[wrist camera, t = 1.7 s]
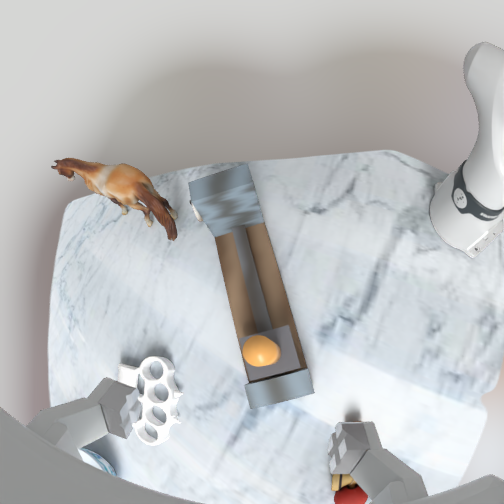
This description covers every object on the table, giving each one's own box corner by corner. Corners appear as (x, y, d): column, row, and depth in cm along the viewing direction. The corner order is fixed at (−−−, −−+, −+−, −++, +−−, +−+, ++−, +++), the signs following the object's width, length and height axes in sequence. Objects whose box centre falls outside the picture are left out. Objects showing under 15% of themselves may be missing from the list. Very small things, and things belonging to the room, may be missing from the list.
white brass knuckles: (126, 348, 51) (190, 362, 48) (119, 428, 45) (182, 448, 42) (117, 347, 48) (183, 361, 45) (110, 430, 42) (175, 453, 39)
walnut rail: (259, 207, 58) (246, 161, 44) (312, 389, 43) (318, 401, 29) (208, 222, 58) (183, 182, 45) (251, 404, 44) (231, 421, 30)
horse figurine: (96, 209, 66) (48, 165, 47) (112, 185, 68) (69, 138, 49) (184, 253, 57) (133, 200, 38) (203, 221, 59) (162, 159, 40)
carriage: (289, 326, 45) (284, 312, 31) (300, 367, 42) (301, 370, 29) (242, 339, 45) (217, 330, 32) (252, 379, 42) (231, 388, 29)
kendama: (325, 424, 41) (324, 508, 32) (336, 426, 36) (333, 519, 27) (365, 418, 41) (363, 500, 32) (380, 419, 36) (377, 509, 27)
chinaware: (133, 507, 36) (114, 519, 29) (82, 482, 39) (62, 489, 32) (131, 456, 42) (110, 464, 35) (80, 432, 44) (57, 436, 37)
